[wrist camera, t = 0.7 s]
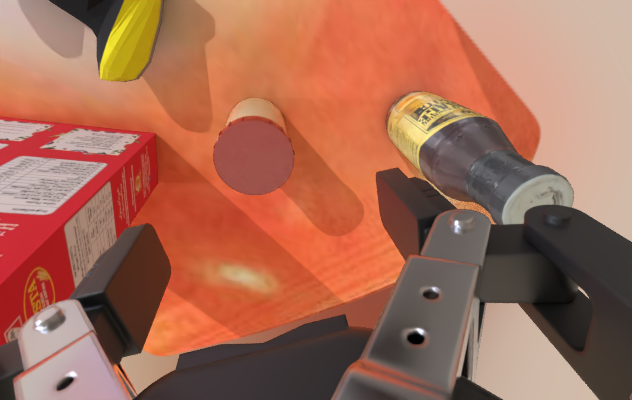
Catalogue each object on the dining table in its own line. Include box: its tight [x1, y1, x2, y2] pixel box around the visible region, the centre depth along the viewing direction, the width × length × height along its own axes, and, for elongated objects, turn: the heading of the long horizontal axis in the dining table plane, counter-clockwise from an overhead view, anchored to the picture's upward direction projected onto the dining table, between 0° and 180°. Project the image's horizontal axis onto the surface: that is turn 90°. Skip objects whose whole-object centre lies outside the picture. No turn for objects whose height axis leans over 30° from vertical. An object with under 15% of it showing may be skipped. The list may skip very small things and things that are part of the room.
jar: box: [225, 98, 287, 133], centre depth 30 cm, size 6×6×9 cm
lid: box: [213, 115, 295, 195], centre depth 26 cm, size 6×6×1 cm
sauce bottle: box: [386, 91, 574, 225], centre depth 27 cm, size 7×6×20 cm
